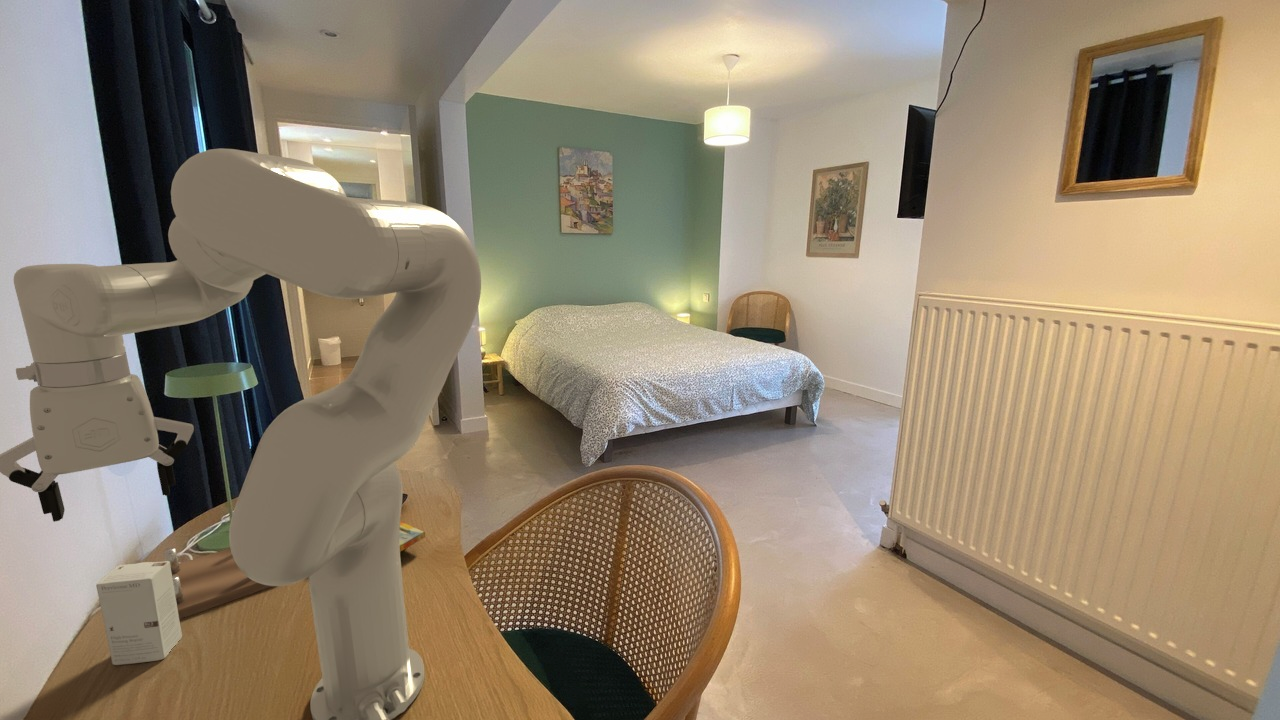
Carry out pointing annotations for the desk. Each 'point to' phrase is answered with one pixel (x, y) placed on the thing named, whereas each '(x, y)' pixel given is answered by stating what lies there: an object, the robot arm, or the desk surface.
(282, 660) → the desk surface
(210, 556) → the post stand
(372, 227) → the robot arm
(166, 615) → the skincare box
